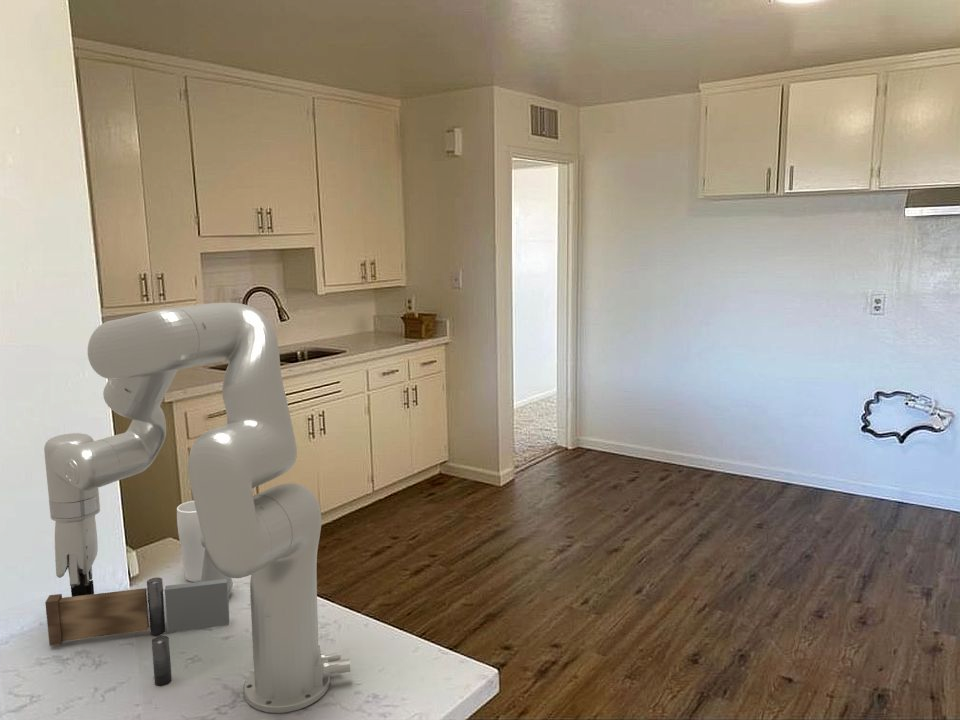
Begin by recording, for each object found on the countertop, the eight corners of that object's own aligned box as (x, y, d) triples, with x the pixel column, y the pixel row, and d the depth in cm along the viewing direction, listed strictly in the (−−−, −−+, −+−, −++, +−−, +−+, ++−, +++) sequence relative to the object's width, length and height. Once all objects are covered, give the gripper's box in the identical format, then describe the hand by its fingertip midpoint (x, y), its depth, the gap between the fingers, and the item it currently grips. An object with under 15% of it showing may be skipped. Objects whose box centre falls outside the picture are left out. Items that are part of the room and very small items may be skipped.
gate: (149, 625, 125) (146, 584, 124) (147, 632, 123) (144, 590, 122) (53, 638, 121) (49, 595, 120) (49, 645, 119) (45, 602, 118)
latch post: (172, 675, 113) (169, 634, 111) (170, 685, 110) (167, 642, 109) (155, 678, 112) (152, 636, 111) (153, 687, 110) (150, 645, 108)
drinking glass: (204, 586, 141) (200, 513, 139) (173, 583, 143) (168, 510, 140) (223, 571, 148) (219, 501, 145) (193, 567, 149) (189, 498, 147)
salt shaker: (239, 595, 138) (236, 531, 136) (214, 608, 133) (210, 541, 131) (219, 587, 141) (216, 524, 139) (194, 600, 136) (190, 534, 134)
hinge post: (166, 627, 126) (163, 576, 125) (164, 634, 124) (161, 583, 123) (151, 629, 126) (147, 578, 124) (149, 636, 123) (145, 584, 122)
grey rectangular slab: (229, 620, 129) (227, 578, 127) (228, 624, 127) (226, 582, 126) (168, 628, 126) (165, 585, 125) (167, 633, 125) (164, 589, 123)
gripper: (61, 493, 131) (69, 588, 134) (38, 524, 117) (48, 629, 120) (107, 489, 133) (114, 582, 136) (90, 519, 119) (99, 622, 122)
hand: (83, 604), depth 128 cm, fingers closed
